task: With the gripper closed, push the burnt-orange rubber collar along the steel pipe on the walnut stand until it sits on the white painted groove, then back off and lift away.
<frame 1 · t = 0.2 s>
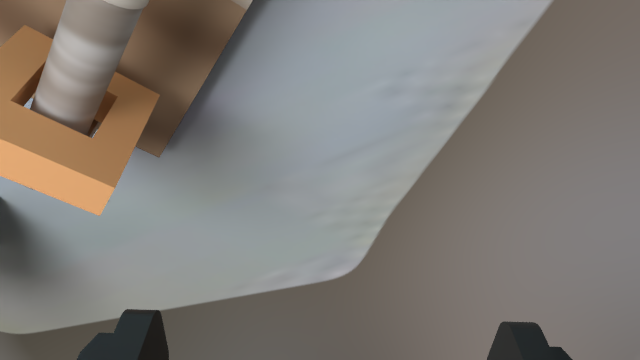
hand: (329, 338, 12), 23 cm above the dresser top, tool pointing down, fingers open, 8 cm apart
collar: (60, 116, 26), point 7 cm above the dresser top, slide at 6.0 cm
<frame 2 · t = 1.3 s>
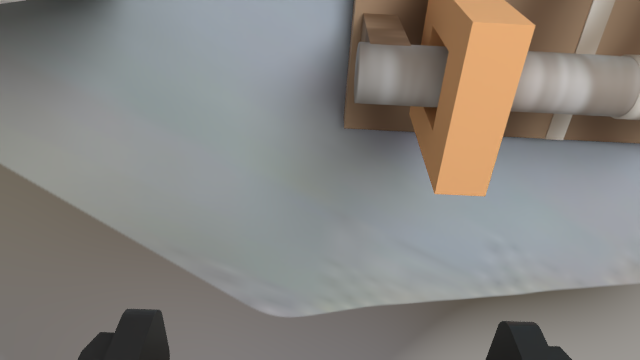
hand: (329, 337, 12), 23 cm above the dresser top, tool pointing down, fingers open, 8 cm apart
pipe stand: (527, 40, 30), on the dresser top
collar: (457, 80, 24), point 7 cm above the dresser top, slide at 6.0 cm
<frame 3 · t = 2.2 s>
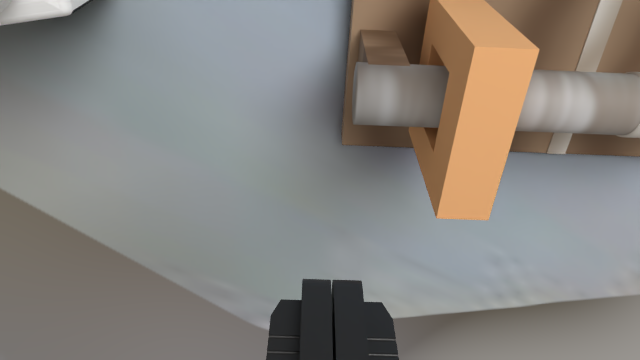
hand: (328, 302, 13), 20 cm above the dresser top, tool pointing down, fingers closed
pipe stand: (527, 54, 30), on the dresser top
collar: (458, 99, 24), point 7 cm above the dresser top, slide at 6.0 cm
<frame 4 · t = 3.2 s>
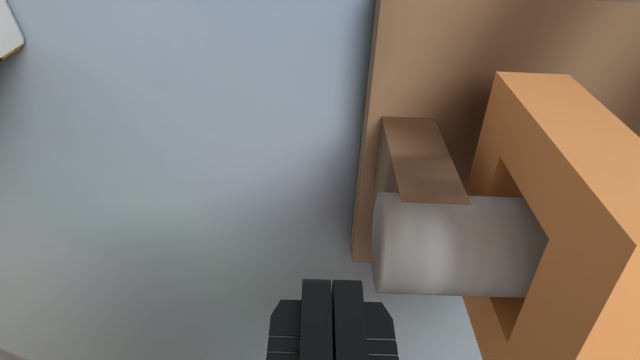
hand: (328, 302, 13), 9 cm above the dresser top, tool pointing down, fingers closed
pipe stand: (619, 142, 21), on the dresser top
collar: (545, 253, 15), point 7 cm above the dresser top, slide at 6.0 cm
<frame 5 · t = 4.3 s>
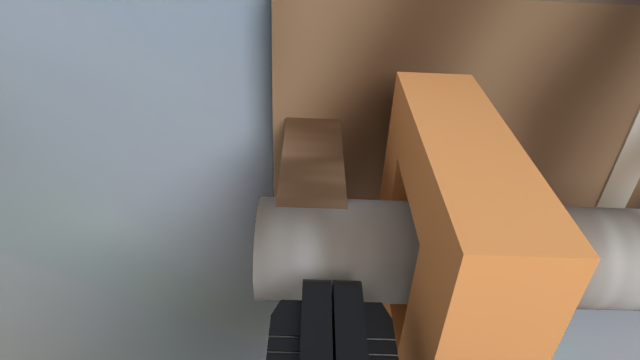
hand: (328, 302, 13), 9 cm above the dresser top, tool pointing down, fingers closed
pipe stand: (539, 143, 20), on the dresser top
collar: (439, 258, 14), point 7 cm above the dresser top, slide at 5.7 cm, touching gripper
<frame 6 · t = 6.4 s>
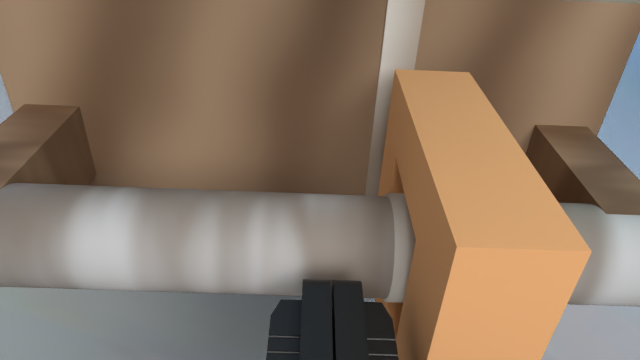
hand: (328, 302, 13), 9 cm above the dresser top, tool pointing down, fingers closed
pipe stand: (309, 132, 20), on the dresser top
collar: (436, 254, 14), point 7 cm above the dresser top, slide at -3.9 cm
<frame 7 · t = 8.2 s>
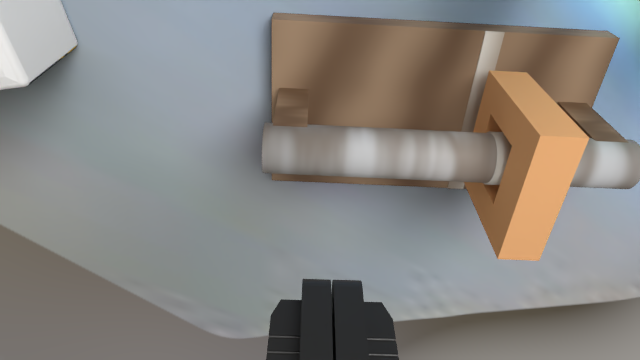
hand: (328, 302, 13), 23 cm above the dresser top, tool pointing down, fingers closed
pipe stand: (426, 106, 35), on the dresser top
collar: (512, 161, 29), point 7 cm above the dresser top, slide at -3.9 cm
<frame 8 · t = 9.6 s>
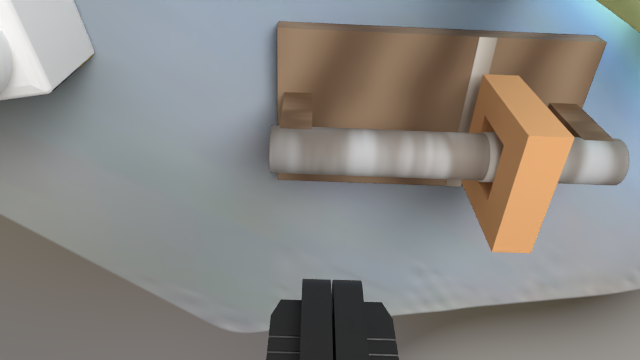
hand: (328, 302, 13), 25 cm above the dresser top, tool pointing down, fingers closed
medicine bottle: (28, 9, 33), on the dresser top
pipe stand: (424, 108, 37), on the dresser top
collar: (505, 159, 31), point 7 cm above the dresser top, slide at -3.9 cm
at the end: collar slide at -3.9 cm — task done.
